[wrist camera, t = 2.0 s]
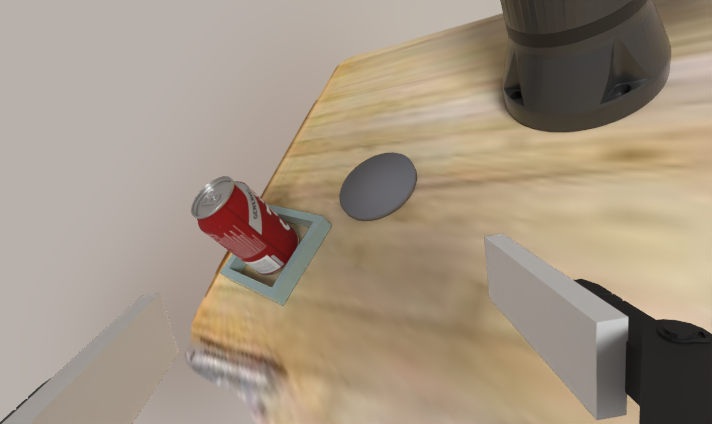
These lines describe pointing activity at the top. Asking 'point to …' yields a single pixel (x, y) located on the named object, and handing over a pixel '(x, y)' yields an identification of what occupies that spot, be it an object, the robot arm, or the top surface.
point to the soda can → (245, 225)
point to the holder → (295, 263)
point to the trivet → (378, 186)
